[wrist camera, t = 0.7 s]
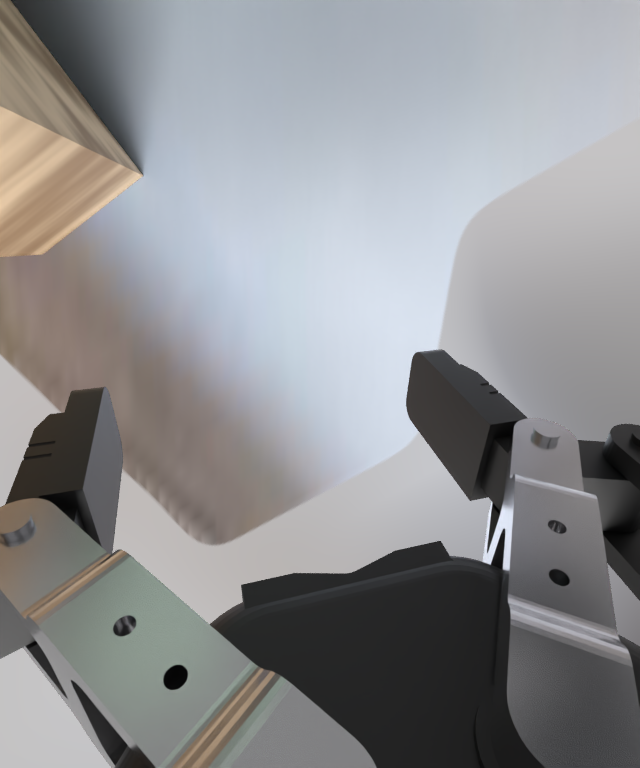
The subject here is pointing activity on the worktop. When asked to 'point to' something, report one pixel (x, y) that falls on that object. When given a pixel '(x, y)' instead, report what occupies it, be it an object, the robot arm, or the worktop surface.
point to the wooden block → (48, 146)
